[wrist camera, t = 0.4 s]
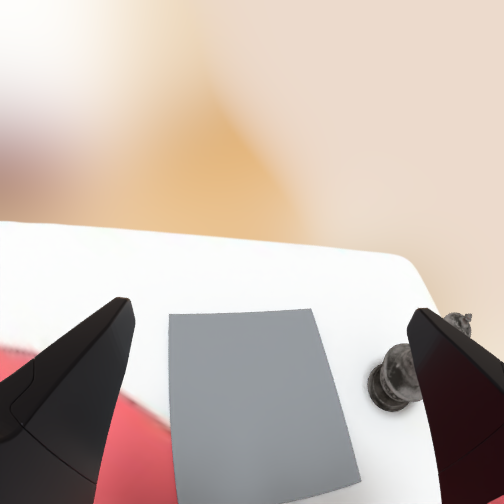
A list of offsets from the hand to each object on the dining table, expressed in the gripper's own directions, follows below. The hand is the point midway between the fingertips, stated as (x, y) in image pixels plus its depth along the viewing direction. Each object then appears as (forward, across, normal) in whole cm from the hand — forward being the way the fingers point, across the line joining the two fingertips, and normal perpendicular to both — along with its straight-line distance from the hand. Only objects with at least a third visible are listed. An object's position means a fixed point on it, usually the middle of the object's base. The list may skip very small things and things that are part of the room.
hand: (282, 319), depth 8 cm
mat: (+6, -1, +15) cm, 17 cm away
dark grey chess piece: (+7, -14, +16) cm, 22 cm away
